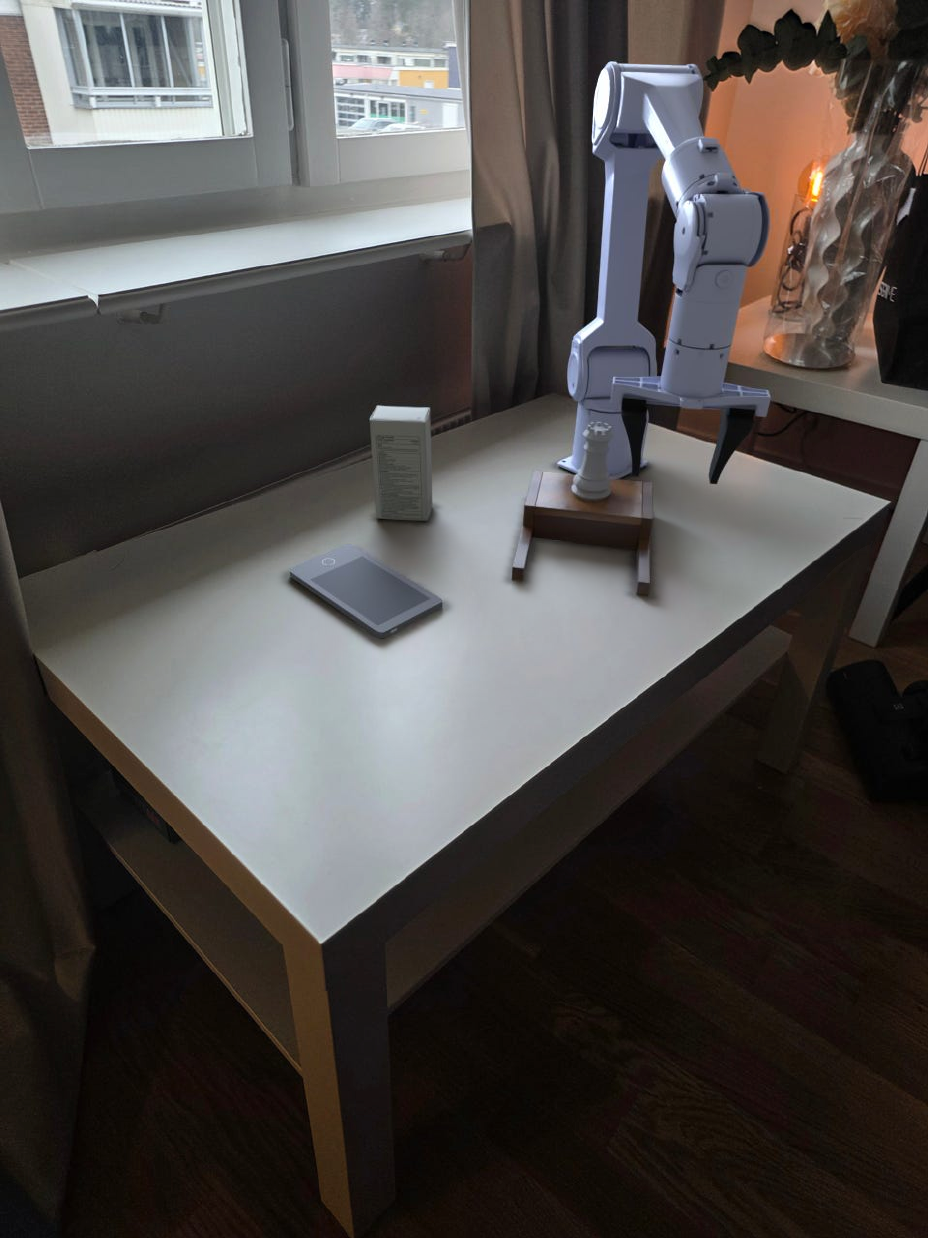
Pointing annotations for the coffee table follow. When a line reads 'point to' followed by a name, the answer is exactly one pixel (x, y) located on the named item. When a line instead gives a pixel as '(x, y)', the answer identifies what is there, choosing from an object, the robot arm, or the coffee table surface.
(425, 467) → the cosmetic box
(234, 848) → the coffee table surface
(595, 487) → the rook chess piece
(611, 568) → the coffee table surface
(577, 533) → the brown u-shaped piece
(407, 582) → the smartphone
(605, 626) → the coffee table surface
